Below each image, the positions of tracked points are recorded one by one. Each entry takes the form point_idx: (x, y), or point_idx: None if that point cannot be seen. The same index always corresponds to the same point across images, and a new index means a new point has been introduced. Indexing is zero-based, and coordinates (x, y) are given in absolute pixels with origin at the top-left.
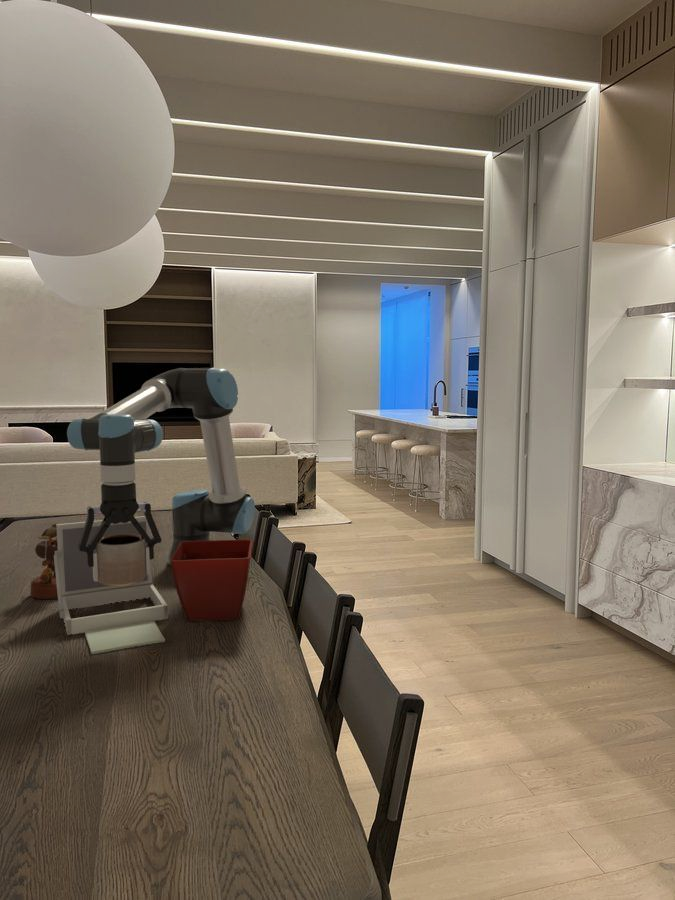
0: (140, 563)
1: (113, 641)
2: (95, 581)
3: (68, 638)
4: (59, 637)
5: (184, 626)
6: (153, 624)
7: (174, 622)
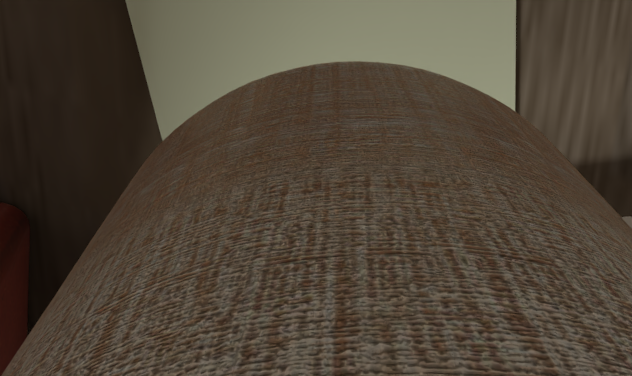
0: (83, 252)
1: (392, 42)
2: (622, 218)
3: None
4: (624, 206)
5: (39, 160)
6: None
7: (94, 224)
